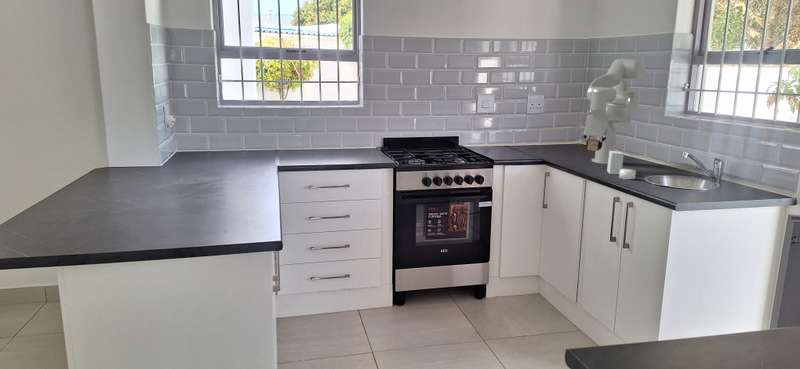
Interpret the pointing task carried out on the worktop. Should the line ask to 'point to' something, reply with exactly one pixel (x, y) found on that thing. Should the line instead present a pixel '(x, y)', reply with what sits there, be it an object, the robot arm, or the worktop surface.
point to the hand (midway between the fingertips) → (593, 148)
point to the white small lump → (627, 174)
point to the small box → (615, 162)
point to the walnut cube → (593, 145)
